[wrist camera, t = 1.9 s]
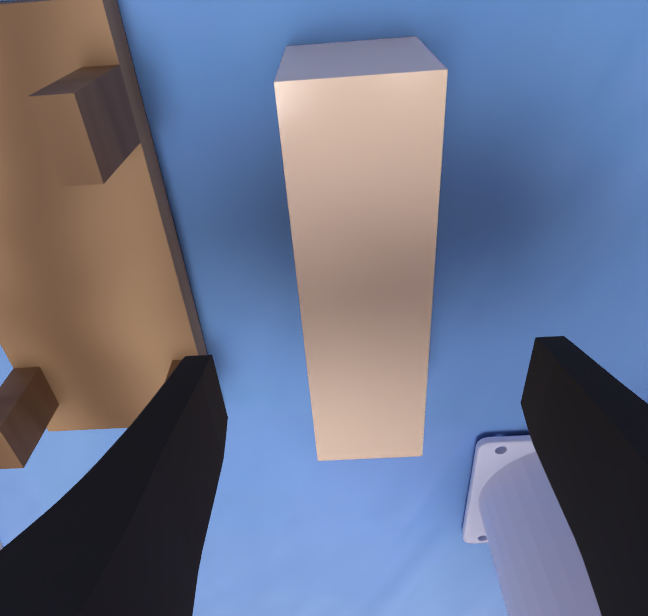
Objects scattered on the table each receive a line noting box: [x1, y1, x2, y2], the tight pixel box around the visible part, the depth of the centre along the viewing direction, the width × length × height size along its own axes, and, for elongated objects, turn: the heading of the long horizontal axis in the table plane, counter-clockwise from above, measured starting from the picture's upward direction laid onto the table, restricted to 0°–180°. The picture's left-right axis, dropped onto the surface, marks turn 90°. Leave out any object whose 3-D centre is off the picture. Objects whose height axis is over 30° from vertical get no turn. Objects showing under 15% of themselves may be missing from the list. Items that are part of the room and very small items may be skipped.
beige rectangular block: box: [274, 36, 448, 461], centre depth 16 cm, size 4×12×4 cm, turn 4°
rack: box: [0, 0, 208, 469], centre depth 16 cm, size 7×15×4 cm, turn 4°
